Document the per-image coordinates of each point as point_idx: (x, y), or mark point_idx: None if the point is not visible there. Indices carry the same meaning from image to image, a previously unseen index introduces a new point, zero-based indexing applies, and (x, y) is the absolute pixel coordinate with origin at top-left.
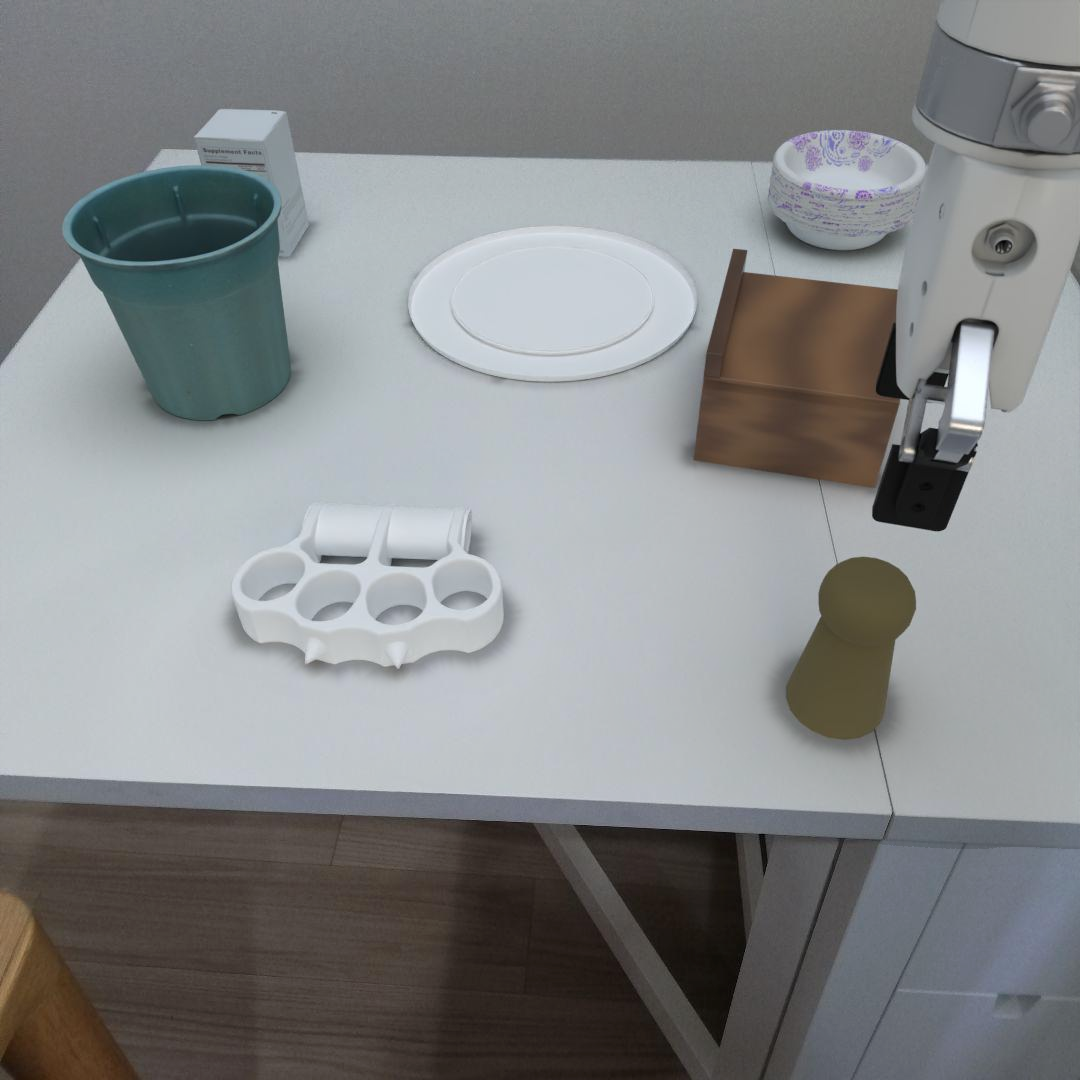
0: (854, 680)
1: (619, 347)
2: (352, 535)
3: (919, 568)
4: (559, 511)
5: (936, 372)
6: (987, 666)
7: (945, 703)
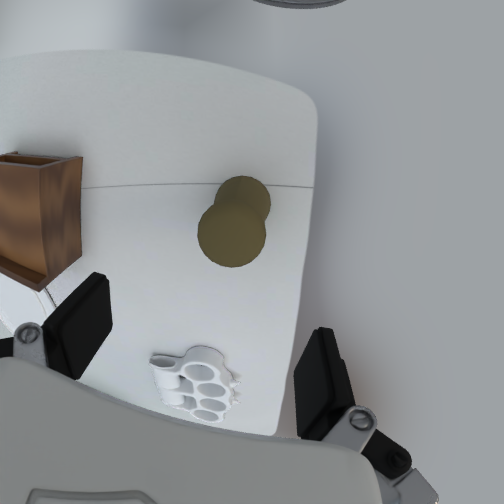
0: (263, 220)
1: None
2: (177, 396)
3: (138, 136)
4: (131, 320)
5: (88, 310)
6: (214, 109)
7: (243, 139)
